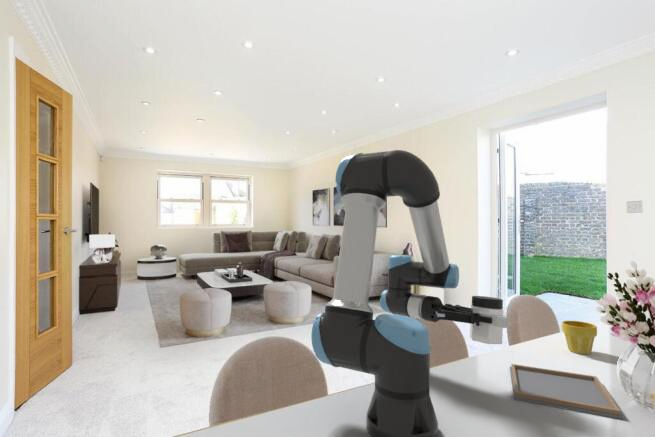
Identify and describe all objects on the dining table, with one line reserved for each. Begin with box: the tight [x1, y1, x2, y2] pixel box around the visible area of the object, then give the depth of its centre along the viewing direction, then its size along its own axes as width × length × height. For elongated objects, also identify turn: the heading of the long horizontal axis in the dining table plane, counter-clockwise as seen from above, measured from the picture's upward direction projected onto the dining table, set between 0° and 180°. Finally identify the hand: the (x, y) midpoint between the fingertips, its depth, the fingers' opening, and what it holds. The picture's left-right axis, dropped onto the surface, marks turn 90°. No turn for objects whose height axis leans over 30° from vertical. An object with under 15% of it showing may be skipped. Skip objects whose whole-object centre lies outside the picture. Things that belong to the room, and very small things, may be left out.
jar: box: [469, 295, 504, 345], centre depth 103 cm, size 9×8×12 cm
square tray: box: [509, 363, 624, 420], centre depth 98 cm, size 22×22×2 cm
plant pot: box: [561, 320, 598, 355], centre depth 129 cm, size 10×10×10 cm
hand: (506, 322), depth 96 cm, fingers closed on jar
